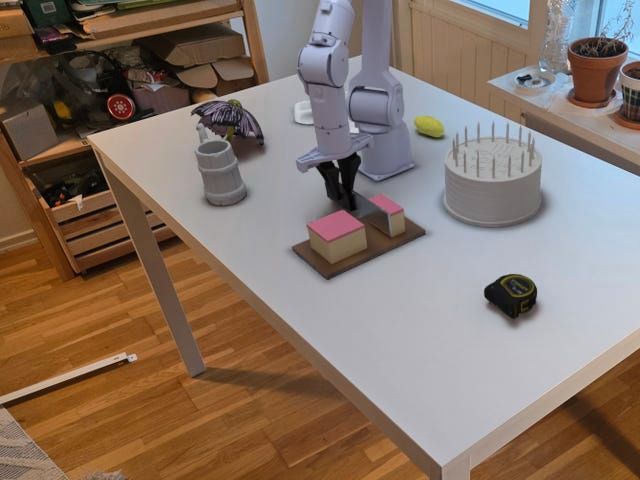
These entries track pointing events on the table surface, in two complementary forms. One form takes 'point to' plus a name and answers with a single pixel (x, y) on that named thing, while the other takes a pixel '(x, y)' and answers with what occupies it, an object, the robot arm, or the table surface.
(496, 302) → the tape measure
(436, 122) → the lemon
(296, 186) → the table surface
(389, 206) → the cake slice
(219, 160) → the mug
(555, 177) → the table surface
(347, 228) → the cake
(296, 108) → the cloth
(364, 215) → the knife
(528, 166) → the cake
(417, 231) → the board
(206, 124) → the decorative flower
